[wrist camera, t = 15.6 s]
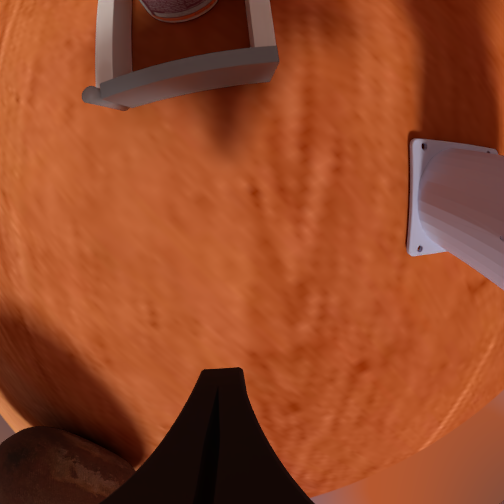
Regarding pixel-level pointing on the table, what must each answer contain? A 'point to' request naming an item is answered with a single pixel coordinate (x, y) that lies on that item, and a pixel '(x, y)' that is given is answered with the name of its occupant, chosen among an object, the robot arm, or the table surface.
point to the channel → (119, 35)
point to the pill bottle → (177, 9)
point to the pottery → (58, 468)
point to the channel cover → (185, 77)
